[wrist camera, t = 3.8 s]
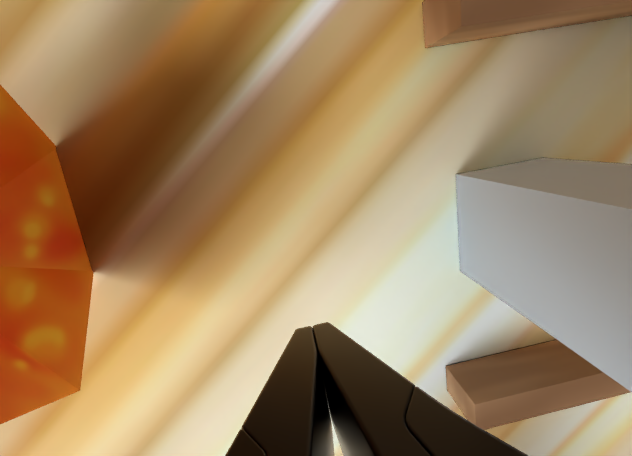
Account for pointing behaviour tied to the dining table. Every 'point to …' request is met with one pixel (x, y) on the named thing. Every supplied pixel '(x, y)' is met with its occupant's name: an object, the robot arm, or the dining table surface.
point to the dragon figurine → (38, 271)
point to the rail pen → (550, 357)
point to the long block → (556, 250)
